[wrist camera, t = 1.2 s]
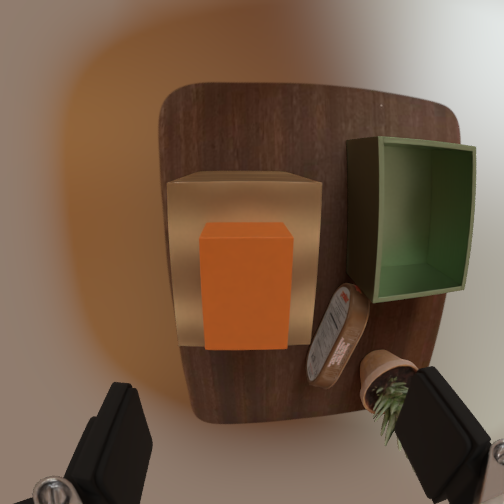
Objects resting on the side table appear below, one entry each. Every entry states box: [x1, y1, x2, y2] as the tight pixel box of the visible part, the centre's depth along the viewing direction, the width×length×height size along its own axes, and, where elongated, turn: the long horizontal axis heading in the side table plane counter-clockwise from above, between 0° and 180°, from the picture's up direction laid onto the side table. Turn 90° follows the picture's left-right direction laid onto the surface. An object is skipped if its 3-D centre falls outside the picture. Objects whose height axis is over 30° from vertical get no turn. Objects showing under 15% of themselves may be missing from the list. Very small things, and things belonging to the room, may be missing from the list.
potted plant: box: [360, 349, 418, 472], centre depth 34 cm, size 10×10×25 cm
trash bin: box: [346, 136, 476, 303], centre depth 34 cm, size 13×17×10 cm
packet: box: [199, 222, 294, 350], centre depth 20 cm, size 7×5×4 cm
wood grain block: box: [167, 171, 322, 346], centre depth 30 cm, size 12×10×18 cm
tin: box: [305, 283, 370, 389], centre depth 39 cm, size 15×3×8 cm, turn 162°
